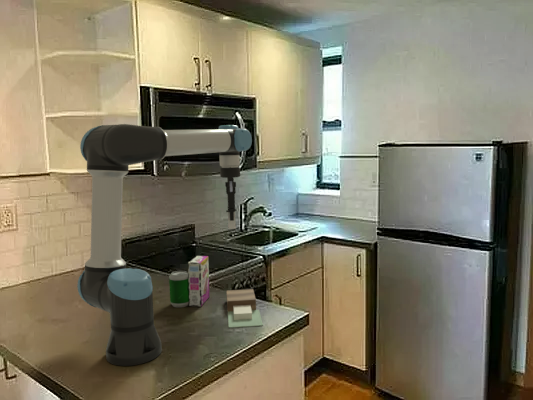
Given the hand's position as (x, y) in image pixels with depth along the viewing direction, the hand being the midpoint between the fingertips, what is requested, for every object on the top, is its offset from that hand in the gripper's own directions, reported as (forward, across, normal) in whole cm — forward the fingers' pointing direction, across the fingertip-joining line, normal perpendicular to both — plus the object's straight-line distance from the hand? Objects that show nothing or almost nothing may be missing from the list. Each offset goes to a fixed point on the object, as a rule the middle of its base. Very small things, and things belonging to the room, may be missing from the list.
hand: (232, 228), depth 175 cm
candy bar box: (+27, -5, +13) cm, 30 cm away
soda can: (+27, -7, +20) cm, 34 cm away
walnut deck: (+26, -12, -2) cm, 29 cm away
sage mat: (+26, -25, -2) cm, 36 cm away
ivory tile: (+26, -22, -2) cm, 34 cm away
